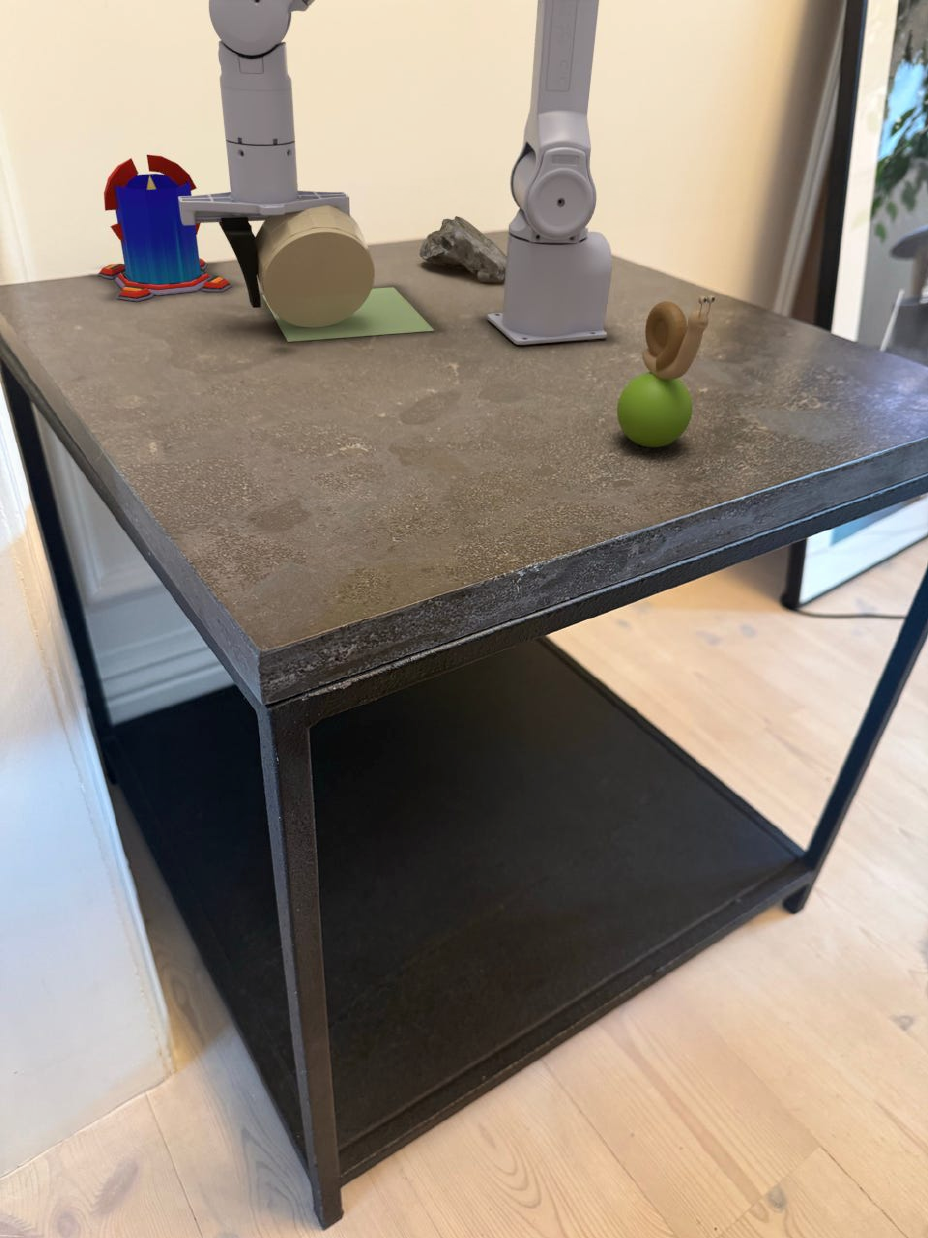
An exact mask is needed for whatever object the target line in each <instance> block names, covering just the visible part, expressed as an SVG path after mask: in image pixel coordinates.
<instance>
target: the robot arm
mask: <svg viewBox="0 0 928 1238" xmlns="http://www.w3.org/2000/svg"><path fill="white" fill-rule="evenodd" d="M315 1H316V0H208V14H209V19H210V22H211V25H212V27H213V29H214V32H215V33H216V35H217V37H218V38H219V39H220V40H219V41H218V51H217V53H218V54H217V56H218V62H219V65H220V72H221V73H220V76H219V87H220V96H221V97H220V98H221V107H222V117H223V127H224V128H223V129H224V137H225V145H226V153H227V154H226V155H227V167H228V176H229V186H230V191H227V192H219V193H218V192H217V193H207V194H198V195H192V196H179V197H178V202H179V210H180V217H181V221H182V224H183V225H184V226H185V225H195V224H196V223H201V224H202V223H203V224H208V223H209V224H211V223H218V224H219V226H220V228H221V231H222V232H223V234H224V235H225V237H226V239H227V241H228V244H229V245H230V247H231V249H232V251H233V254H234V256H235V258H236V260H237V263H238V265H239V268H240V270H241V274H242V276H243V279H244V282H245V285H246V288H247V293H248V299H249V303H250V304H251V307H252V309H260V308H262V302H261V299H262V298H261V291H260V284H259V279H258V276H257V271H256V252H255V237H256V235H255V234H254V232H253V227H252V226H253V225H252V224H250V222H264V221H265V220H267V219H268V218H269V217H270V216H271V215H284V214H285V213H290V212H298V211H304V210H306V209H308V208H314V207H319V206H325V205H329V206H332V207H336V208H338V209H339V210H341V211H343V212H345V213H346V214H347V215H348V216H349V217H350V215H351V209H350V196H349V195H348V194H347V193H345V191H315V190H314V191H311V190H299V188H298V187H299V185H298V170H297V169H298V168H297V167H298V166H297V153H296V152H297V151H296V136H295V119H294V118H295V117H294V101H293V85H292V84H293V83H292V78H291V76H290V74H289V69H288V67H289V66H288V54H287V53H288V52H287V51H288V50H287V42H286V41H283V40H284V39H285V37H286V36H287V34H288V32H289V30H290V27H291V22H292V12H306V11H307V10H308V9H309V8H310V6H312V4H314V3H315ZM599 5H600V0H537V6H536V19H535V20H536V21H535V34H534V48H533V60H532V61H533V63H532V77H531V90H530V103H529V112H528V115H527V118H526V122H525V124H524V125H525V126H524V129H523V141H522V146H521V151H520V152H519V153H520V154H519V155H518V156H517V159H516V160H515V162H514V164H513V166H512V170H511V172H510V178H509V181H510V182H509V186H510V192H511V196H512V198H513V200H514V202H515V204H516V206H517V207H518V208H519V209H518V210H517V212H516V215H515V217H514V218H513V219H512V220H511V222H510V223H508V233H507V234H508V235H507V243H506V244H507V247H506V256H507V259H506V274H505V278H504V288H503V289H504V291H503V305H502V312H497V313H489V314H487V317H486V318H487V320H488V321H489V322H490V323H491V324H492V325H494V326H495V327H496V328H497V329H498V330H499V331H500V332H501V333H502V334H503V335H505V337H507V338H508V339H509V340H510V341H511V342H513V344H515V345H517V346H524V345H526V346H527V345H537V344H538V345H539V344H548V343H551V344H552V343H561V342H562V343H563V342H577V341H586V340H599V339H606V338H607V337H608V332H607V331H606V330H605V324H606V316H607V310H608V303H609V295H610V286H611V280H612V272H613V257H612V251H611V250H612V249H611V246H610V243H609V241H608V239H607V238H606V236H605V235H604V234H603V233H601V232H599V231H589V227H587V225H588V224H589V223H590V222H591V220H592V218H593V216H594V213H595V210H596V206H597V189H596V185H595V181H594V180H593V176H592V173H591V153H592V152H591V151H592V145H591V137H590V129H589V122H588V110H589V100H590V91H591V80H592V73H593V63H594V54H595V42H596V36H597V35H596V33H597V24H598V17H599V15H598V14H599ZM302 200H304V201H302Z"/></svg>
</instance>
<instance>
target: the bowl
mask: <svg viewBox="0 0 928 1238" xmlns="http://www.w3.org/2000/svg"><path fill="white" fill-rule="evenodd" d="M302 201H304V200H302ZM255 252H256V271H257V279H258V283H259V286H260V288H261V291H262V293H263V295H265V298H266V301H267V303H268V305H269V307H270V308H271V309H272V311H273V312H274V313H275V314H276V315H277V316H279V317H280V318H281V319H283V320H284V321H286V322H288V323H290V324H293V325H296V326H300V327H306V328H318V327H325V326H329V325H333V324H336V323H338V322H341V321H343V320H344V319H346V318H348V317H349V316H351V315H352V314H354V313H355V312H356V311H357V310H358V309H359V308H360V307H361V306H362V305H363V304H364V302H365V301H366V300H367V298H368V296H369V295H370V292H371V290H372V289H373V288H374V283H375V277H376V271H375V265H374V261H373V258H372V255H371V251H370V248H369V246H368V243H367V242H366V239H365V237H364V234H363V233H362V230H361V227H360V225H359V224H358V222H357V221H356V220H355V219H354V217H352V215H351V214H350V217H349V216H348V215H347V214H346V213H345V212H343V211H341V210H339V209H338V208H336V207H332V206H329V205H325V206H319V207H314V208H308V209H306V210H304V211H298V212H290V213H285V214H284V215H271V216H270V217H269V218H268V219H267V220H265V221H262V223H261V226H260V228H259V229H258V231H257V232H256V235H255ZM268 305H267V306H268ZM269 307H268V308H269Z"/></svg>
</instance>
